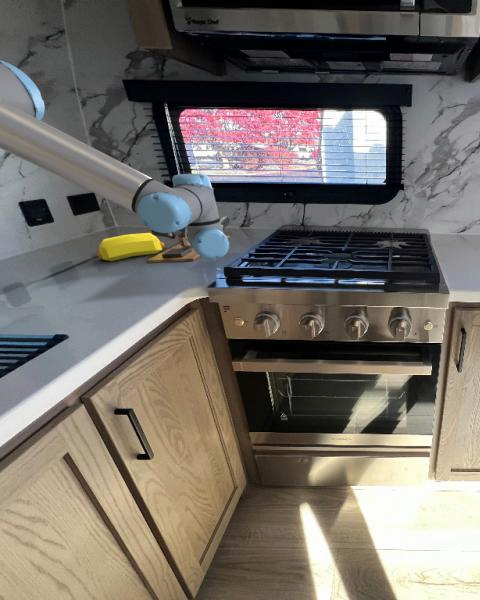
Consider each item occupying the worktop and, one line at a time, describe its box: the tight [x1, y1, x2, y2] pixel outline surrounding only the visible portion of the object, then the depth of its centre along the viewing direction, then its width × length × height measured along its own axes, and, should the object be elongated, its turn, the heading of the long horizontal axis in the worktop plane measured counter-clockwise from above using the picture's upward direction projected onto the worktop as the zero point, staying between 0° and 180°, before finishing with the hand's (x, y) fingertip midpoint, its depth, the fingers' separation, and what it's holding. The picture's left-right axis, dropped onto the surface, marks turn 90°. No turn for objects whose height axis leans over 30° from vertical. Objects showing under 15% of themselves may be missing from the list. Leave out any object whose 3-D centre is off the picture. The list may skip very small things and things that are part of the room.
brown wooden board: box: [146, 234, 231, 264], centre depth 114 cm, size 14×28×2 cm, turn 3°
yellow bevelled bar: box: [96, 232, 166, 262], centre depth 107 cm, size 18×7×8 cm
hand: (187, 220), depth 104 cm, fingers open, 13 cm apart
